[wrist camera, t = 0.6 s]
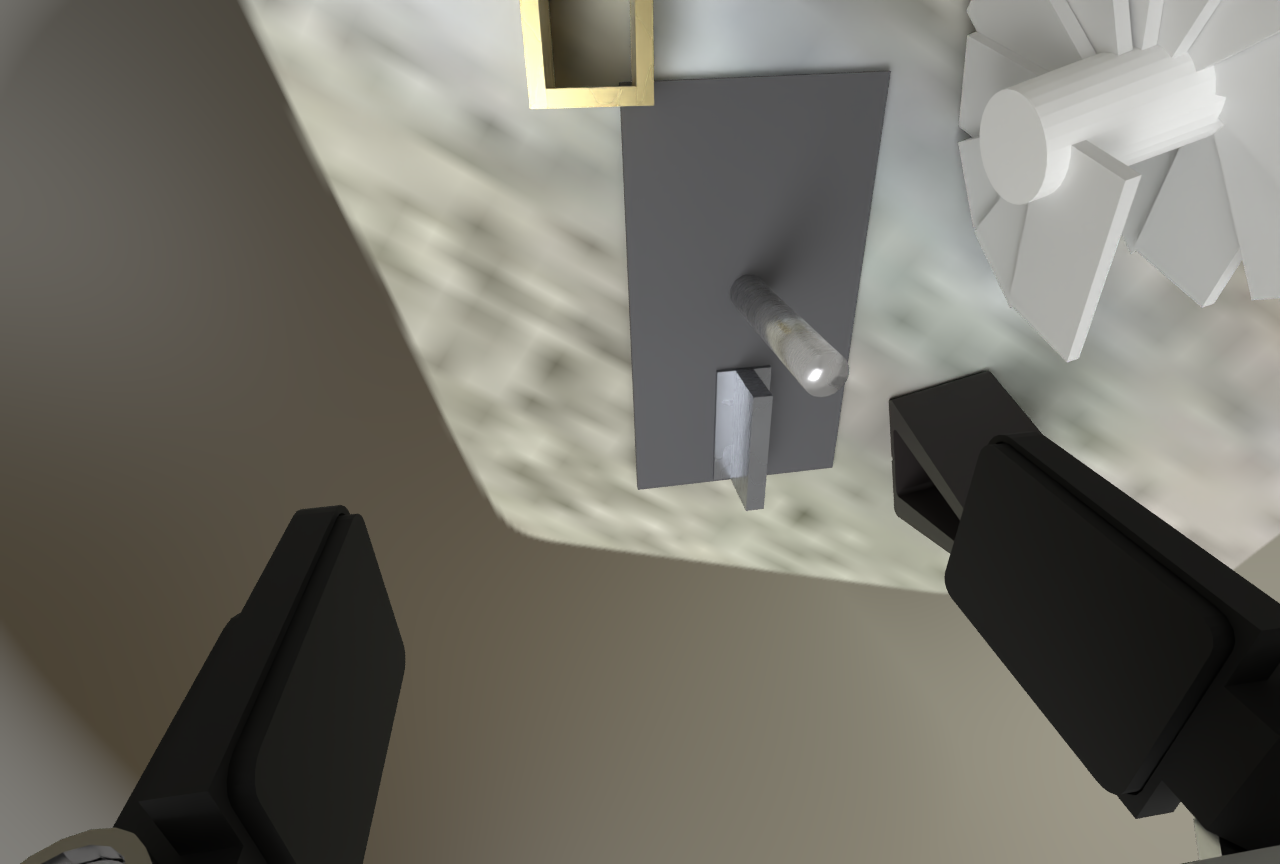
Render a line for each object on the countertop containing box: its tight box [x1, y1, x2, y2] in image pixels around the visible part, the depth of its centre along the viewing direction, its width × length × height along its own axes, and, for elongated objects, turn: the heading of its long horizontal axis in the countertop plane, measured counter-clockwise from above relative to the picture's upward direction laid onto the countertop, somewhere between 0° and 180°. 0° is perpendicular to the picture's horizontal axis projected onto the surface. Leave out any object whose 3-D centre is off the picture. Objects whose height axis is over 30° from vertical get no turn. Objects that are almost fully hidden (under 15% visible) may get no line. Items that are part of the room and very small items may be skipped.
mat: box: [619, 71, 891, 490], centre depth 32 cm, size 21×12×1 cm, turn 2°
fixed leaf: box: [713, 275, 849, 511], centre depth 30 cm, size 12×3×10 cm, turn 2°
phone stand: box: [889, 371, 1043, 554], centre depth 34 cm, size 9×6×12 cm, turn 14°
